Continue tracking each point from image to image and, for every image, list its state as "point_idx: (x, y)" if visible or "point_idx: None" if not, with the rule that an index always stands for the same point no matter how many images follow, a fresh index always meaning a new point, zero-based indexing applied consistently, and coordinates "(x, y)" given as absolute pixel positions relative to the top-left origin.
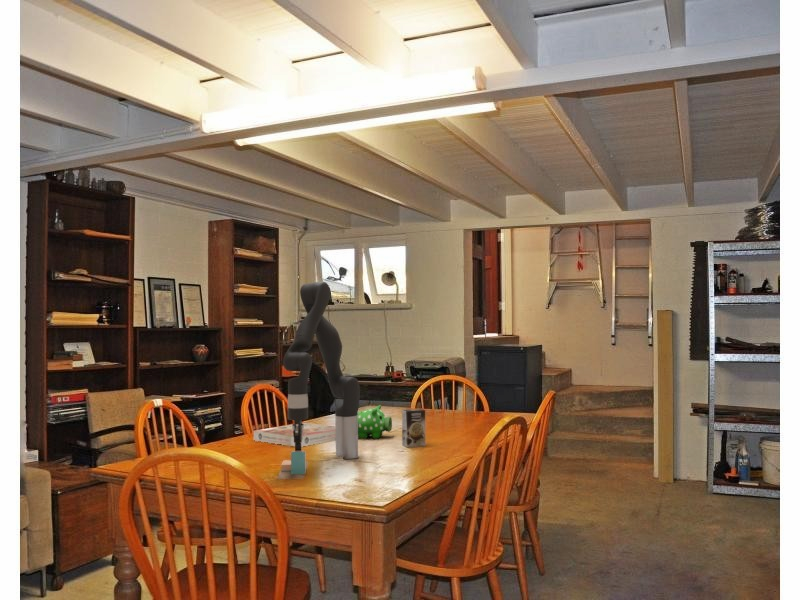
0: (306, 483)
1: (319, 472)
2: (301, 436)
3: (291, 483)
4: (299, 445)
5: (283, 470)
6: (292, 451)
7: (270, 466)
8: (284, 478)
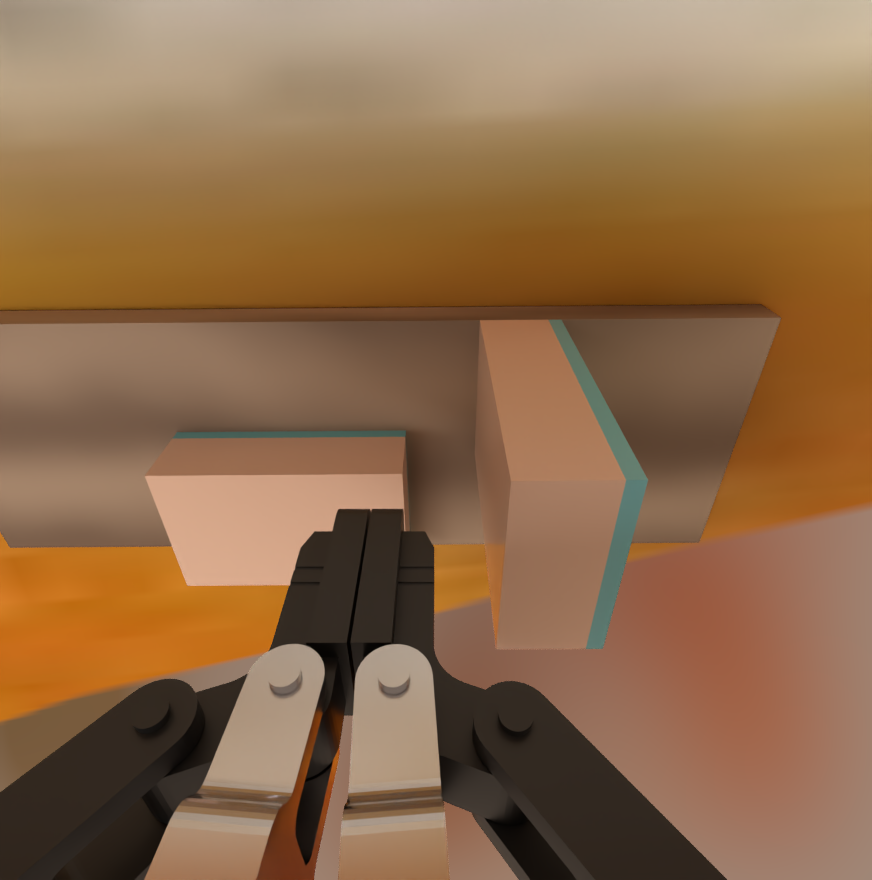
0: (857, 270)
1: (306, 138)
2: (444, 824)
3: (776, 413)
4: (431, 632)
5: (409, 528)
6: (558, 637)
7: (83, 608)
8: (703, 491)
